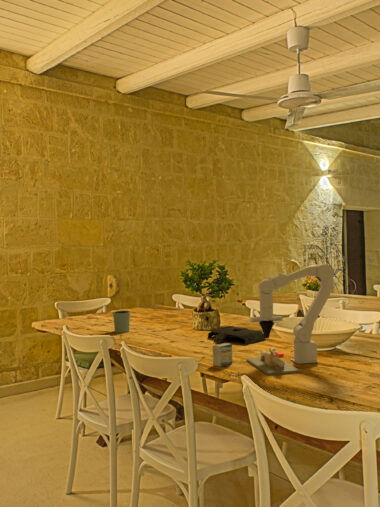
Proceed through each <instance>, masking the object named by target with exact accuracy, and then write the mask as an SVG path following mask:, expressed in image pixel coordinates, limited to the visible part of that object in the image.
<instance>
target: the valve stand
mask: <svg viewBox="0 0 380 507" xmlns="http://www.w3.org/2000/svg"><path fill="white" fill-rule="evenodd" d="M259 354H260V355H261V356H260V357H250V358H246V362H248V363H249V364H250V365H252V366H253V367H255V368H256V369H258V370H259V371H261V372H262V373H263V374H265V375H267V376H274V375H275V374H277V375H287V374H299V373H300V374H301V369H299V368H297V367H295V366H294V365H292V364H290V363H288V362H287V361H285V360H283V359H282V358H278V357H277V356H275V354H274V353H272V352H269V351H268V352H267V351H266V350H264V349H263V350H261V351H260V353H259ZM275 376H276V375H275Z"/></svg>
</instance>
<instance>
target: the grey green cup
mask: <svg viewBox="0 0 380 507" xmlns="http://www.w3.org/2000/svg"><path fill="white" fill-rule="evenodd" d="M112 315H113V316H112V317H113V325H114V333H117V334H126V333H129V332H130V325H131V324H130V321H131V319H130V318H131V311H130V310H116V311H112Z"/></svg>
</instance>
